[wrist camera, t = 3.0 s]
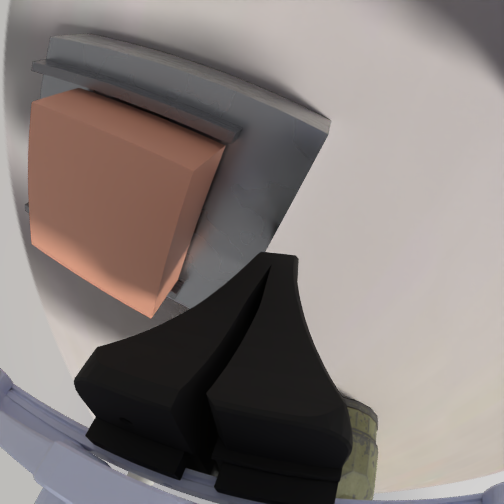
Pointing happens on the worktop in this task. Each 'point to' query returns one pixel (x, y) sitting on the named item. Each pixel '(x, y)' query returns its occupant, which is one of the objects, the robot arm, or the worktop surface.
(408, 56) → the worktop surface
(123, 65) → the socket plate
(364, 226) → the worktop surface
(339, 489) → the green stone statue
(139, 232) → the orange square block
